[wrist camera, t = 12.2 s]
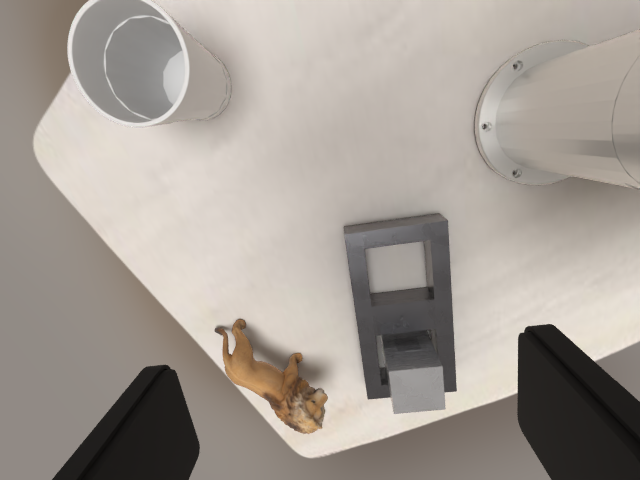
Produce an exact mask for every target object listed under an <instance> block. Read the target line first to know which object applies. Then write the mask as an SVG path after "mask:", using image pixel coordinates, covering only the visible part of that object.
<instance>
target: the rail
mask: <svg viewBox="0 0 640 480" xmlns="http://www.w3.org/2000/svg"><path fill="white" fill-rule="evenodd" d="M344 234H345V242H346V249H347V256H348V263H349V270H350V277H351V284H352V291H353V298H354V305H355V312H356V319H357V326H358V333H359V340H360V348H361V355H362V362H363V369H364V376H365V383H366V390H367V397H368V399H377V398H388V397H391V396H390V391H389V386H388V381H387V376H386V371H385V368H379V362H378V354H377V346H376V338H375V336H376V335H386V334H395V333H404V332H413V331H423V330H431V341H432V344H433V346H434V348H435V350H436V353H437V355H438V357H439V359H440V362H441V364H442V366H443V380H444V392H454V391H457V389H456V370H455V351H454V331H453V312H452V293H451V273H450V254H449V235H448V220H447V219H445V218H444V217H443V216H442V215H440V214H431V215H424V216H417V217H410V218H402V219H395V220H388V221H381V222H373V223H366V224H359V225H352V226H344ZM419 241H424V248H425V261H426V275H427V287H424V288H416V289H408V290H399V291H391V292H382V293H374V294H370V290H369V282H368V274H367V266H366V259H365V251H364V249H366V248H374V247H381V246H389V245H396V244H404V243H412V242H419Z"/></svg>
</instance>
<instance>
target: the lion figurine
mask: <svg viewBox="0 0 640 480" xmlns="http://www.w3.org/2000/svg"><path fill="white" fill-rule="evenodd" d="M245 327H246V323H245V321H244V320H241V319H239V320H237V321H236V322H235V323H234V325H233V328H232V334H233V335H234V336H235V340H236V347H235V349H234V351H233V354H232V355H231V354H229V350H228V335H227V333H226V332H225V331H224V330H223V329H222V328H215V332H216V333H218V334H220V335H223V337H224V338H223V361H224V364H225V371H226V374H227V375H228V377H229V378H230V379H231V380H232V381H233V382H234V383H235V384H237V385H240V386H243V387H245V388H248V389H250V390H251V391H253V392H255V393H256V394H258V395H259V396H261V397H263V398H264V399H266V400H267V401H269V403H270V405H271V408H272V409H273V410H274V411H275V414H276V415H277V416H278V418H280V419H281V421H283V422H284V423H285V424H286V425H288V426H289V427H290V428H293V429H294V430H295V431H298V432H300V433H303V434H305V433H308V434H309V433H313V432H315V431H316V430H317V429H322V422H323V418H324V414H325V409H324V403H325V402H326V401H327V399H328V397H327V395H326V394H325V393H324V390H323V389H322V388H318V389H317V390H315V389H314V388H312V387H309V384H308V382H307V381H306V380H303V379H302V378H301V377H299V376H298V367H297V363H300V362H301V361H302V355H301V354H300V353H296V354H293V355H292V356H291V357H290V358H289V365H288V367H287V368H286V369H285V370H284V372H281V371H280V370H279V369H277V368H276V367H274V366H273V365H271V364H268V363H266V362H262V361H255V360H254V358H253V351H252V347H251V345H250V342H249V340H248V339H247V337H246V336H245V335H244V334H243V332H242V331H241V330H242V329H244V328H245Z"/></svg>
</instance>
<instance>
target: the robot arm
mask: <svg viewBox="0 0 640 480" xmlns="http://www.w3.org/2000/svg"><path fill="white" fill-rule="evenodd" d="M513 65H515V66H516V68H515V70H514V69H513ZM483 124H485V126H486V127H485V129H482V125H483ZM475 136H476V142H477V145H478V148H479V150H480V153H481V155H482V157H483V158H484V160H485V161H486V163H487V164H488V165H489V166H490V167H491V168H492V169H493V170H494V171H495V172H496V173H498V174H499V175H501V176H502V177H504V178H506V179H508V180H511V181H514V182H517V183H522V184H526V185H545V184H552V183H555V182H559V181H562V180H565V179H567V178H569V177H571V176H573V177H578V178H584V179H589V180H594V181H599V182H604V183H609V184H614V185H620V186H625V187H630V188H635V189H640V30H637V31H634V32H631V33H628V34H625V35H622V36H619V37H616V38H613V39H610V40H607V41H604V42H601V43H598V44H595V45H592V46H588V45H586V44H583V43H580V42H576V41H569V40H558V41H549V42H545V43H542V44H538V45H535V46H533V47H530V48H528V49H526V50H524V51H522V52H520V53H519V54H517V55H515V56H514V57H512V58H511V59H510V60H508V61H507V62H506V63H505V64H504V65H503V66H501V67H500V68H499V69H498V71H497V72H496V73H495V74H494V75H493V77H492V78H491V79H490V81H489V82H488V84H487V86H486V87H485V89H484V91H483V93H482V95H481V98H480V100H479V103H478V106H477V111H476V116H475ZM514 170H515V173H514V174H512V173H513V171H514ZM518 422H519V425H520V428H521V430H522V432H523V434H524V436H525V437H526V439H527V440H528V442H529V444H530V445H531V447H532V449H533V450H534V452H535V454H536V455H537V457H538V458H539V460H540V462H541V463H542V465H543V466H544V468H545V470H546V471H547V473H548V475H549V476H550V478H551V479H552V480H640V402H639V401H638V400H637V399H636V398H635V397H634V396H632V395H631V394H630V393H629V392H628V391H627V390H626V389H625V388H624V387H622V386H621V385H620V384H619V383H618V382H617V381H615V380H614V379H613V378H612V377H611V376H610V375H609V374H608V373H606V372H605V371H604V370H603V369H602V368H601V367H600V366H599V365H597V364H596V363H595V362H594V361H593V360H592V359H591V358H590V357H589V356H587V355H586V354H585V353H584V352H583V351H582V350H581V349H580V348H579V347H577V346H576V345H575V344H574V343H573V342H572V341H571V340H570V339H569V338H567V337H566V336H565V335H564V334H563V333H562V332H561V331H560V330H559V329H557V328H556V327H555V326H554V325H552V324H546V325H537V326H528V327H526V328H525V331H524V333H520V334H519V337H518ZM199 449H200V447H199V441H198V438H197V435H196V432H195V429H194V425H193V422H192V419H191V416H190V413H189V410H188V407H187V404H186V401H185V398H184V395H183V392H182V389H181V386H180V382H179V379H178V376H177V373H176V371H175V370H172V369H170V367H169V366H168V365H158V366H149V367H145V368H144V369H143V370H142V371H141V372H140V373H139V375H138V376H137V377H136V378H135V379H134V381H133V382H132V383H131V384H130V385H129V387H128V388H127V389H126V390H125V392H124V393H123V394H122V395H121V396H120V398H119V399H118V400H117V401H116V403H115V404H114V405H113V406H112V407H111V409H110V410H109V411H108V412H107V413H106V415H105V416H104V417H103V418H102V419H101V421H100V422H99V423H98V424H97V426H96V427H95V428H94V429H93V430H92V432H91V433H90V434H89V435H88V437H87V438H86V439H85V440H84V441H83V443H82V444H81V445H80V446H79V447H78V449H77V450H76V451H75V452H74V454H73V455H72V456H71V457H70V458H69V460H68V461H67V462H66V463H65V464H64V466H63V467H62V468H61V470H60V471H59V472H58V473H57V474H56V475H55V477H54V478H53V479H52V480H189V477H190V475H191V473H192V470H193V468H194V466H195V463H196V461H197V459H198V456H199Z"/></svg>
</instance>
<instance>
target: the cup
mask: <svg viewBox="0 0 640 480" xmlns="http://www.w3.org/2000/svg"><path fill="white" fill-rule="evenodd" d="M68 59H69V65H70V69H71V73H72V76H73V78H74V81H75V83H76V85H77V87H78V89H79V90H80V92H81V94H82V95H83V97H84V98H85V99H86V100H87V102H88V103H89V104H90V105H91V106H92V107H93V108H94V109H95V110H96V111H97V112H99V113H100V114H101V115H102V116H104V117H105V118H107V119H109V120H111V121H113V122H115V123H117V124H120V125H124V126H128V127H137V128H140V127H149V126H155V125H162V124H168V123H172V122H178V121H187V120H209V119H212V118H214V117H216V116H218V115H219V114H221V113H222V112H223V111H224V109H225V108H226V106H227V105H228V103H229V100H230V96H231V80H230V76H229V74H228V71H227V69H226V68H225V66H224V64H223V63H222V62H221V61H220V60H219V59H218V58H217V57H216V56H214V55H213V54H211V53H210V52H209V51H207V50H206V49H205V48H204V47H203V46H202V45H201V44H200V43H199V42H197V41H196V40H195V39H194V38H193V37H192V36H191V35H190V34H189V33H187V32H186V31H185V30H184V29H183V28H182V27H181V26H180V25H179V24H178V23H177V22H176V21H175V20H174V19H173V18H172V17H171V16H170V15H169V14H168V13H167V12H166V11H165V10H164V9H163V8H161V7H160V6H159V5H158V4H156V3H155V2H154V1H152V0H89V1H88V2H87V3H86V4H84V5H83V7H82V8H81V9H80V10H79V12H78V13H77V15H76V16H75V18H74V20H73V22H72V25H71V28H70V32H69V37H68Z"/></svg>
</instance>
